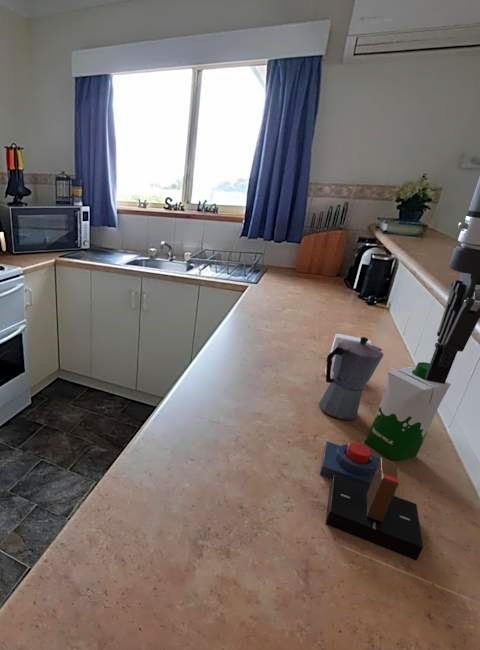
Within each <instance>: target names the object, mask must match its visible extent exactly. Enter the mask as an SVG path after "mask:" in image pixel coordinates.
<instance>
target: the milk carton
mask: <svg viewBox="0 0 480 650" xmlns="http://www.w3.org/2000/svg"><path fill="white" fill-rule="evenodd" d="M429 365H430V362H426V361H425V362H423V361H421V362H418V363H417V364H416V366H410V367H404V368H397V369H394V370H388V371H387V375H386V376H387V377H386V385H385V386H386V387H385V389H384V392H383V395H382V396H381V401H380V403H379V406H378V408H377V412H376V413H375V416H374V419H373V422H372V424H371V426H370V429H369V431H368V433H367V435H366V437H365V440H364V443H365V444H366V445H367V446H368V447H370V448H371V449H373V450H374V451H375V452H377V453H378V454H379V455H381V456H382V457H383V458H384V459H388V460H391V461H394V462H396V463H398V462H401V461H404V460H408V459H410V458H414V457H415V458H416V457H417V456H418V453H419V451H420V449H421V447H422V445H423V443H424V441H425V438H426V436H427V435H428V432H429V429H430V428H431V425H432V423H433V421H434V418H435V416H436V414H437V412H438V409H439V407H440V405H441V403H442V401H443V399H444V398H445V395H446V394H447V392H448V390H449V388H450V386H452V385H451V383H450V382H448V381H446V382H445V384H442V383H437V382H432V381H428V380H426V378H425V376H426V373H427V370H428V368H429Z"/></svg>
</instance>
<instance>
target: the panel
mask: <svg viewBox="0 0 480 650" xmlns="http://www.w3.org/2000/svg"><path fill="white" fill-rule="evenodd" d="M368 489H369V487H367V486H364V485H361V484H358V483H356V482H353V481H350V480H347V479H344V478H341V477H339V476H336V475H334V476H333V479H331V483H330V485H329V490H328V500H327V507H326V515H325V526H329V527H331V528H334V529H336V530H339V531H341V532H344V533H346V534H348V535H351V536H354V537H356V538H358V539H361V540H364V541H366V542H369V543H371V544H374V545H376V546H378V547H381V548H383V549H386V550H389V551H391V552H393V553H396V554H399V555H401V556H403V557H406V558H409V559H410V560H413V561H417V560H418V558H419V556H420V555H421V552H422V551H423V549H424V545H423V539H422V531H421V525H420V518H419V511H418V505H417V503H415V502H412V501H409V500H406V499H404V498H401V497H399V496H395V495H394V496H393V498H392V500H391V503H390V505H389V507H388V510H387V512H386V514H385V517H384V519H383V521H382V522H380V521H377V520H375V519H372V518H369V517H367V492H368Z"/></svg>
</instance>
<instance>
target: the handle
mask: <svg viewBox="0 0 480 650" xmlns="http://www.w3.org/2000/svg"><path fill="white" fill-rule="evenodd" d="M398 486H399V478H398V469H397V462H394V461H391V460H388V459H387V458H385V457H380V462H379V464H378V467H377V469H376V472H375V474H374V477H373V479H372V482H371V484H370V487H369V489H368V492H367V517H369V518H372V519H375V520H377V521H380V522H382V521H383V519H384V517H385V514H386V512H387V510H388V507H389V505H390V503H391V500H392V498H393V496H395V493H396V491H397V489H398Z"/></svg>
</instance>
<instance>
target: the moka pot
mask: <svg viewBox="0 0 480 650" xmlns="http://www.w3.org/2000/svg"><path fill="white" fill-rule="evenodd" d="M360 338H361V340H360V342H358V341H349V340H344V341H342V342H340V343H338V347H337V348H335V350H334V351H333V352H331V351H330V352H331V353H330V352H329V354H328V355H327V356H326V366H327V369H326V368H325V370H326V374H325V382H326V383H328V385H327V387H326V389H325V390H324V393H323V395H322V396H321V398H320V399H319V402H318V406H319V408H320V409H321V411H322V412H323V413H325V414H327V415H329V416H331V417H334V418H336V419H339V420H345V421H352V420H355V419H356V418H357V416H358V412H359V407H360V403H361V399H362V395H363V390H364V389H365V387H366V384H367V383H368V382H370V380H371V378H372V376H373V374H374V373H375V371H376V369H377V368H378V366H379V364H380V362H381V361H382V359H383V357H384V353H383V352H382V351H383V349H382V348H381V347H378V346H376V345H373V344H370V345H368V344H366V343H367V341H368V340H369V338H368V337H364V336H361V337H360ZM334 355H336V357H335V362H334V367H333V372H334V373H333V376H332V379H331V378H330V372H331V365H332V358H333V357H334Z"/></svg>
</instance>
